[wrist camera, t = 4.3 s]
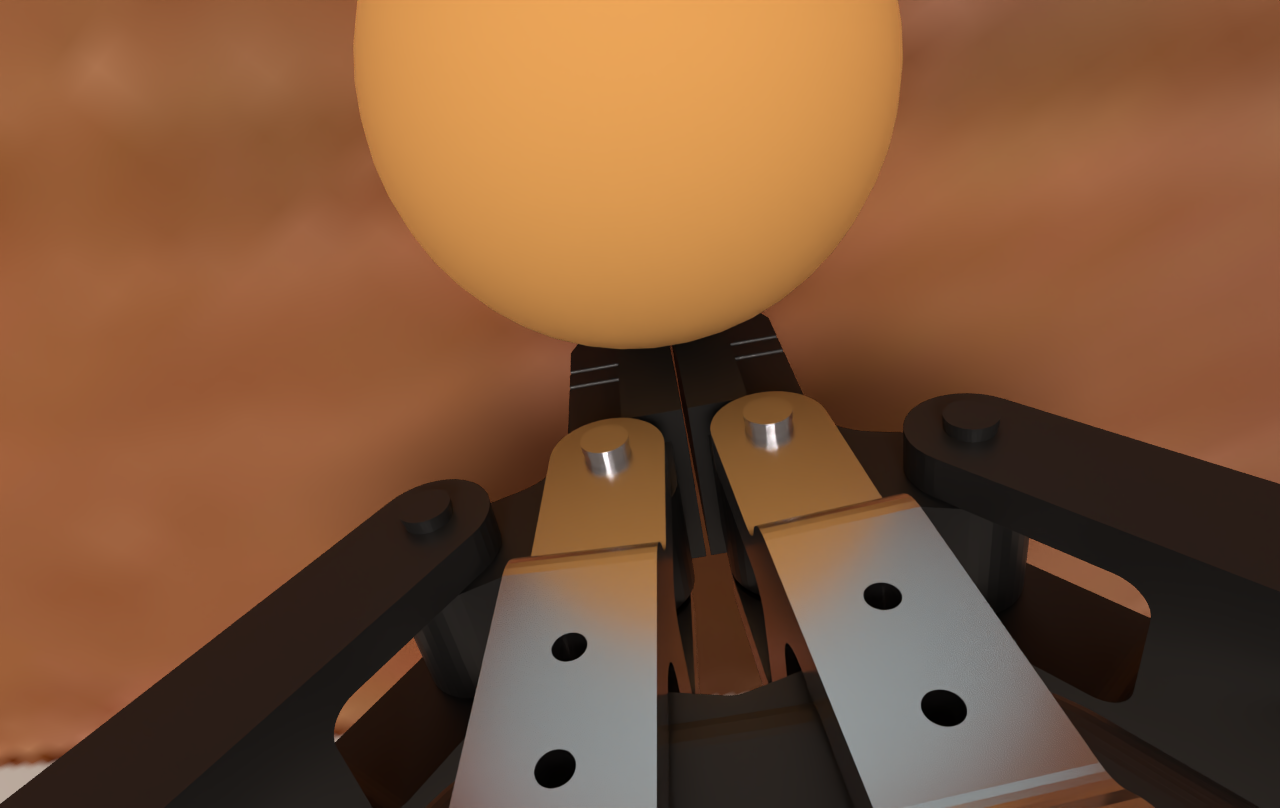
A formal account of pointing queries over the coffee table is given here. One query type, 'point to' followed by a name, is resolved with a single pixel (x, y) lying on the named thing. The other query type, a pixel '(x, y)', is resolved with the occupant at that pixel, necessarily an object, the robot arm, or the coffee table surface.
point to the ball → (628, 150)
